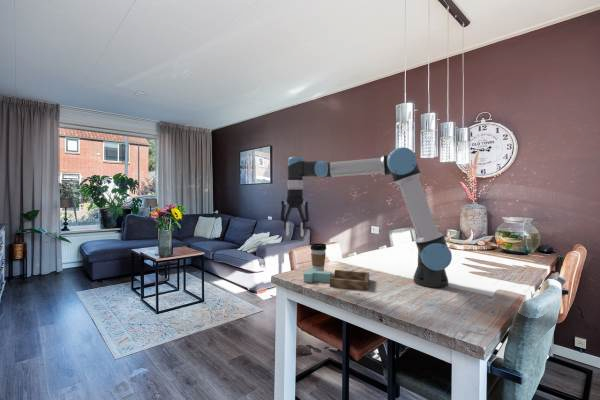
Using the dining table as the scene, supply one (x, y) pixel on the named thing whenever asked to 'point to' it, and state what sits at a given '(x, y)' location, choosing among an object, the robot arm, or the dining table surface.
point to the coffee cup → (318, 256)
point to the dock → (350, 283)
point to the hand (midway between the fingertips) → (294, 235)
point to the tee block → (316, 276)
